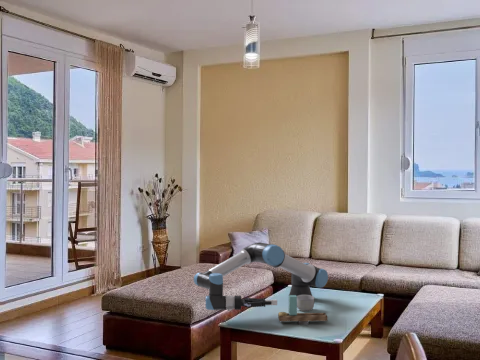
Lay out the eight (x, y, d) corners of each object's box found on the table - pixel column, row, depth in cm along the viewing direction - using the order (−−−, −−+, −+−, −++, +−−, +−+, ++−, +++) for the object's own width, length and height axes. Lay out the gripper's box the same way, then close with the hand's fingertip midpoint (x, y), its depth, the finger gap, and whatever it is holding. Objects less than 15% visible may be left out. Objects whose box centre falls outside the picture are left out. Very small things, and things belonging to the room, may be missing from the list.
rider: (289, 318, 285) (289, 296, 285) (288, 315, 289) (288, 295, 289) (296, 317, 285) (296, 296, 285) (295, 315, 289) (295, 295, 289)
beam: (279, 324, 284) (279, 314, 284) (277, 321, 291) (277, 311, 291) (327, 324, 285) (327, 314, 285) (324, 320, 292) (325, 310, 292)
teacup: (315, 308, 317) (316, 295, 317) (312, 313, 307) (312, 299, 307) (293, 306, 322) (293, 293, 322) (289, 311, 312) (289, 297, 311)
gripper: (233, 306, 292) (275, 306, 293) (234, 312, 279) (278, 312, 280) (233, 293, 292) (275, 292, 293) (234, 298, 279) (278, 298, 280)
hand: (277, 302), depth 287 cm, fingers closed
